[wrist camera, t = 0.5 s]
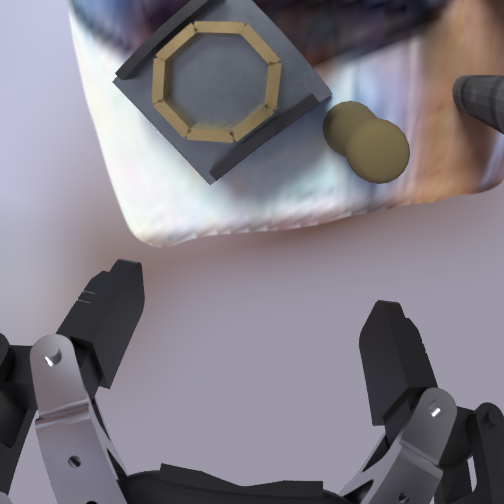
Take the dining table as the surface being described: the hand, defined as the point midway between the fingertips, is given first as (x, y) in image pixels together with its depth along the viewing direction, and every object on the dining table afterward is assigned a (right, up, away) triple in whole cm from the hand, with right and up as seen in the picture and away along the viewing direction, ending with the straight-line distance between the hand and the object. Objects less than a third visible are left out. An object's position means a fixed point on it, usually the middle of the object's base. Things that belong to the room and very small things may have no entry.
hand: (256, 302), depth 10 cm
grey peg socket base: (-3, +19, +18) cm, 26 cm away
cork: (+10, +15, +20) cm, 27 cm away
